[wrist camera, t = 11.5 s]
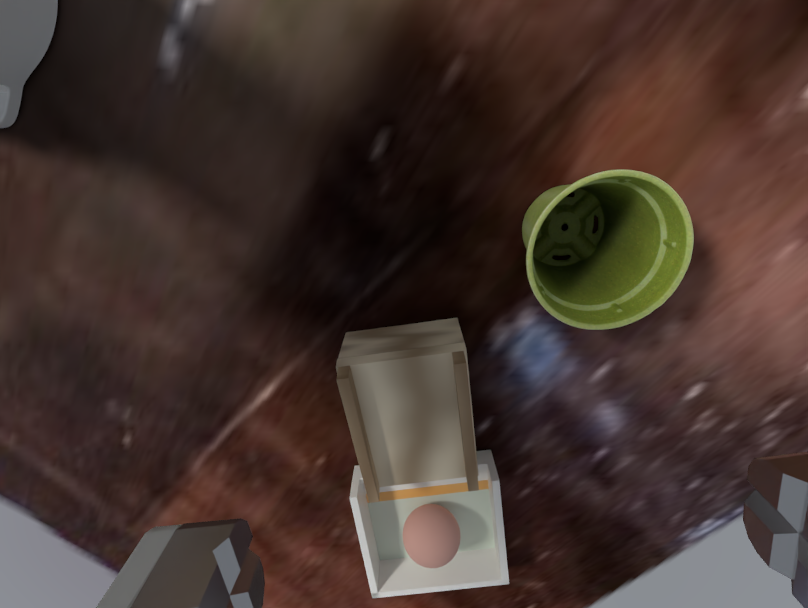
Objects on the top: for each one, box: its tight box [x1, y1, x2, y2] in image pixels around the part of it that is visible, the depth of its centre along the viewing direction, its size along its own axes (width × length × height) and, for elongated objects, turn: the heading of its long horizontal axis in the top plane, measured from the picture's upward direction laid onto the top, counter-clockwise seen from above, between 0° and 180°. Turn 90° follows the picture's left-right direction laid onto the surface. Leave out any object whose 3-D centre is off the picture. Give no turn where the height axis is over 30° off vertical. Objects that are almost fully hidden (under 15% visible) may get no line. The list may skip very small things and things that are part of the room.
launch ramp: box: [336, 318, 479, 503], centre depth 36 cm, size 9×12×7 cm
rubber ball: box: [403, 504, 461, 568], centre depth 41 cm, size 5×5×5 cm
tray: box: [350, 450, 509, 598], centre depth 42 cm, size 12×11×4 cm
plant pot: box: [522, 170, 694, 330], centre depth 31 cm, size 9×9×9 cm
